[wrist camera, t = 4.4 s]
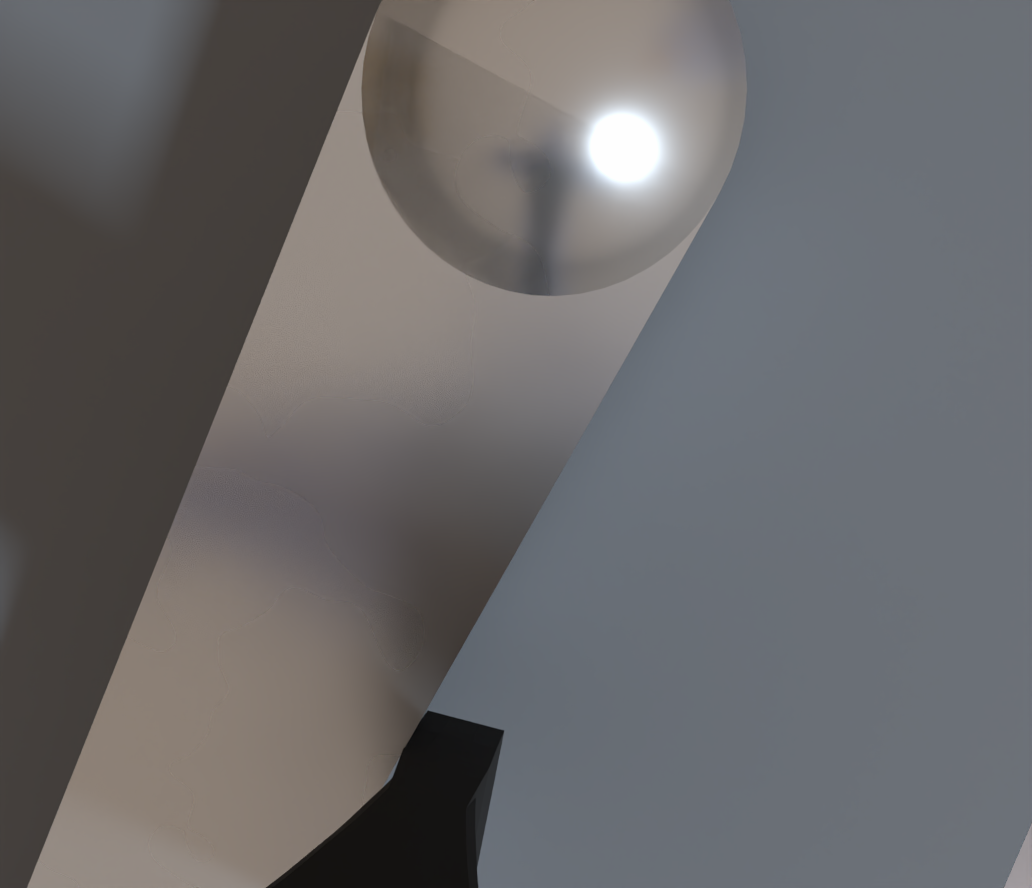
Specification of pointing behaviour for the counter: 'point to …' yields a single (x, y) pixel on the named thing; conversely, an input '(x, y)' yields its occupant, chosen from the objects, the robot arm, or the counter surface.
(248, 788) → the swing link
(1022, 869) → the counter surface
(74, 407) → the mat
